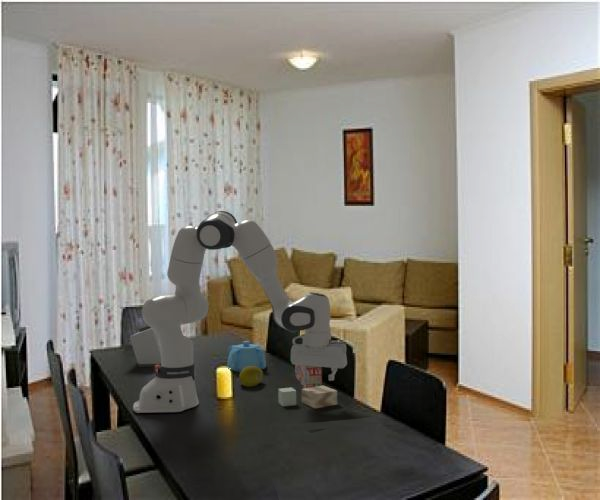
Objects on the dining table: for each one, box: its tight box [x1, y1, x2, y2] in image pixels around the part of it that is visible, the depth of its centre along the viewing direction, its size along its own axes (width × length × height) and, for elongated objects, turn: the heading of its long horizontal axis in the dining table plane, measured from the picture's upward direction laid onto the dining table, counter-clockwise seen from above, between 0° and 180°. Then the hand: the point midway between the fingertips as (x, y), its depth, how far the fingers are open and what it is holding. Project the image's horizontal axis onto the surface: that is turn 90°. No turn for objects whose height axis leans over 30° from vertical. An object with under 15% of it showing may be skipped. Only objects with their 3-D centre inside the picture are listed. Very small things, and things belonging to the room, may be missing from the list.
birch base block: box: [301, 384, 338, 409], centre depth 213 cm, size 9×9×5 cm
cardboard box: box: [294, 365, 323, 389], centre depth 240 cm, size 21×6×12 cm, turn 12°
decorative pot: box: [226, 340, 267, 373], centre depth 263 cm, size 16×16×14 cm
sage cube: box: [277, 387, 297, 407], centre depth 213 cm, size 5×5×5 cm
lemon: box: [238, 366, 264, 388], centre depth 239 cm, size 11×8×8 cm
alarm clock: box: [129, 324, 161, 368], centre depth 277 cm, size 20×16×20 cm
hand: (318, 378), depth 213 cm, fingers open, 8 cm apart
